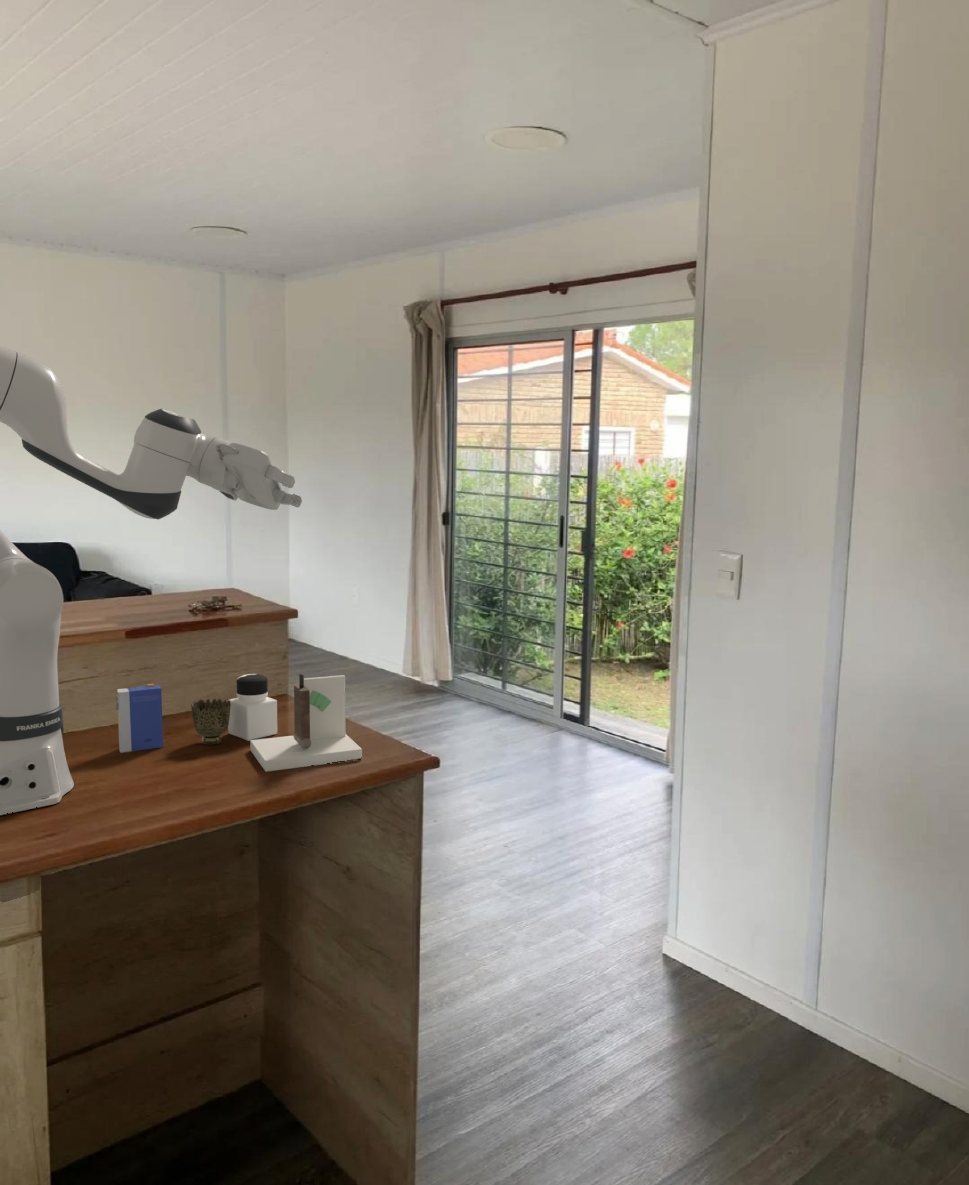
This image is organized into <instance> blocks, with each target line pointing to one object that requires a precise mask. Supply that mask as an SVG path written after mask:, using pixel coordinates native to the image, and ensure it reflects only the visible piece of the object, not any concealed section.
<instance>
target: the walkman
mask: <svg viewBox="0 0 969 1185" xmlns="http://www.w3.org/2000/svg"><path fill="white" fill-rule="evenodd" d="M162 697H163V696H162V687H161V686H160V685H159V684H156V685H155V684H154V683H150V684H146V686H145V685H144V686H137V687H127V688H117V690H116V697H115V699H116V700H115V701H116V711H117V720H118V722H117V724H118V743H119V745H118V746H119V752H120V753H121V754H122V753H130V752H135V751H136V752H137V751H144V750H151V749H158V748H164V730H163V729H164V728H163V702H162V701H163V699H162Z"/></svg>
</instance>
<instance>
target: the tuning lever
mask: <svg viewBox="0 0 969 1185" xmlns="http://www.w3.org/2000/svg"><path fill="white" fill-rule="evenodd" d="M298 677H299V684H294V685H293V693H294V694H293V697H294V698H293V704H294V707H293V708H294V715H293V716H294V733H293V735H294V739H295V740H296V742H297V743H298V744H299V745H300V746H301V747H302V748H303V749H308V748H309V747H310V746H311V741H310V690H309V689H307V688H306V687H305V686H304V679H305V674H304V673H299V674H298Z"/></svg>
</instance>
